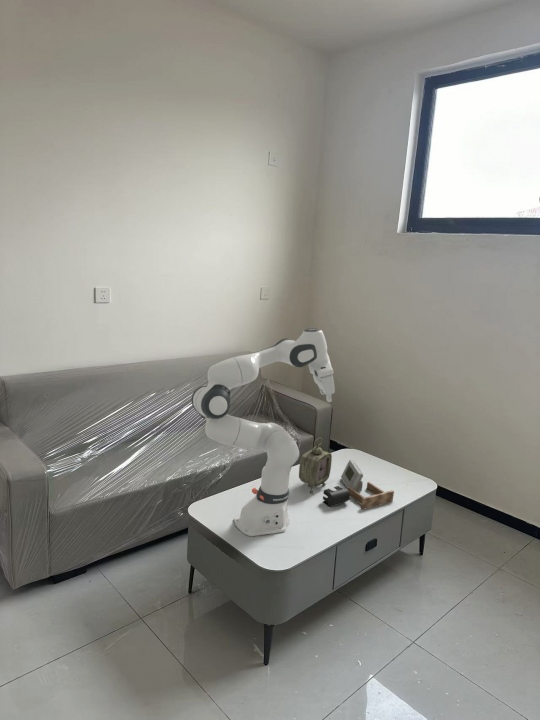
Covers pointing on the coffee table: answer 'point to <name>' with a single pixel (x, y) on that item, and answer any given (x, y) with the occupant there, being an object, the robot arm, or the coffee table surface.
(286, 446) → the robot arm
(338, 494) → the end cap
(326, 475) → the tabletop clock
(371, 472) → the coffee table surface
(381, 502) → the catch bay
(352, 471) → the digital clock
